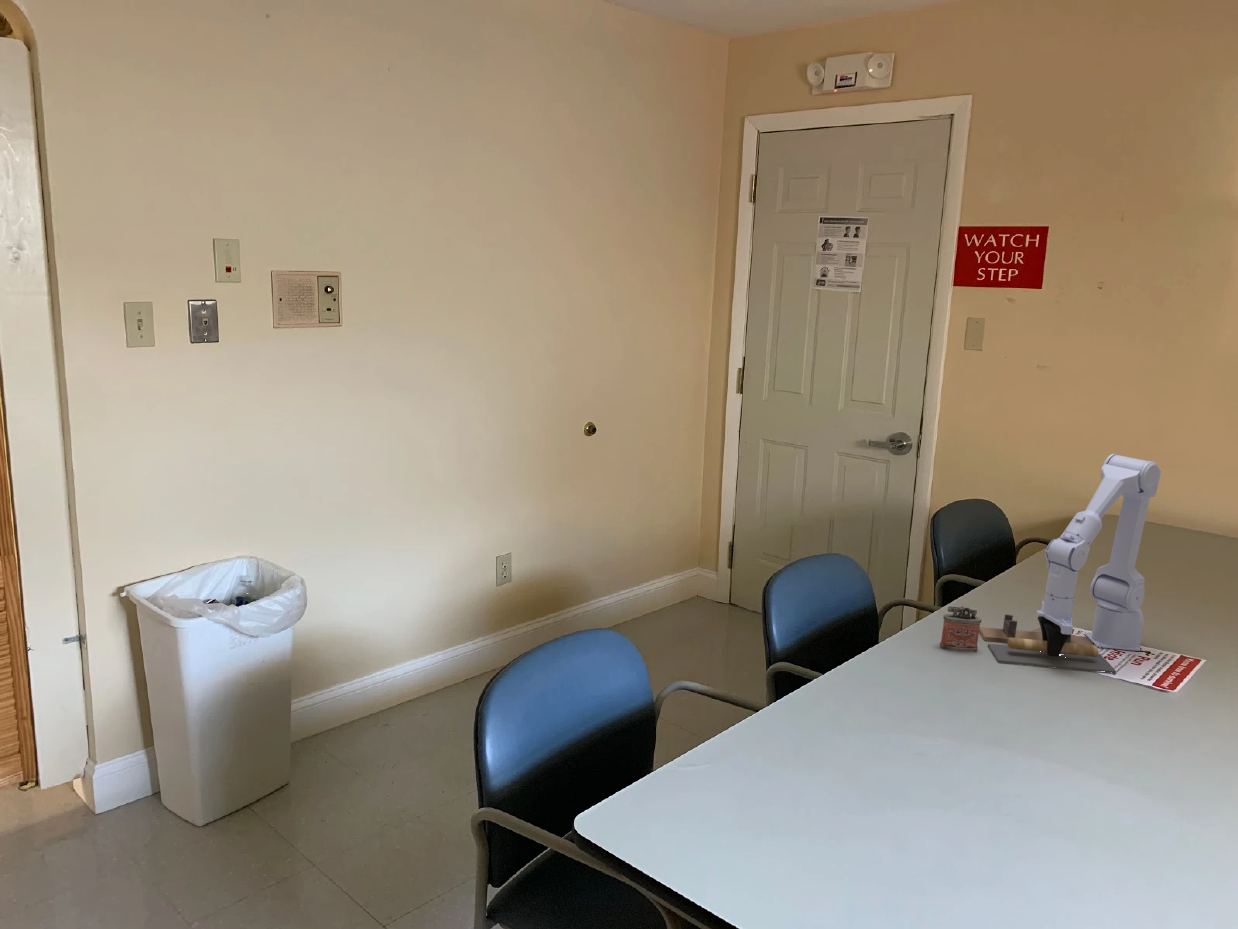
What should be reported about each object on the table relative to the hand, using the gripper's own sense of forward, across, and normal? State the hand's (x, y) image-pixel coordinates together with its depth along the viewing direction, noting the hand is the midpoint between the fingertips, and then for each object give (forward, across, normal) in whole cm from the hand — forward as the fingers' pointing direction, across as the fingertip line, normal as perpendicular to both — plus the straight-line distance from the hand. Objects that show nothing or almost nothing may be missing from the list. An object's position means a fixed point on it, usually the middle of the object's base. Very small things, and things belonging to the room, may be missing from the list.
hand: (1050, 652), depth 198 cm
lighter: (+2, -2, -19) cm, 19 cm away
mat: (+2, 0, 0) cm, 2 cm away
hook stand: (+2, -10, 0) cm, 11 cm away
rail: (0, 0, 0) cm, 0 cm away
